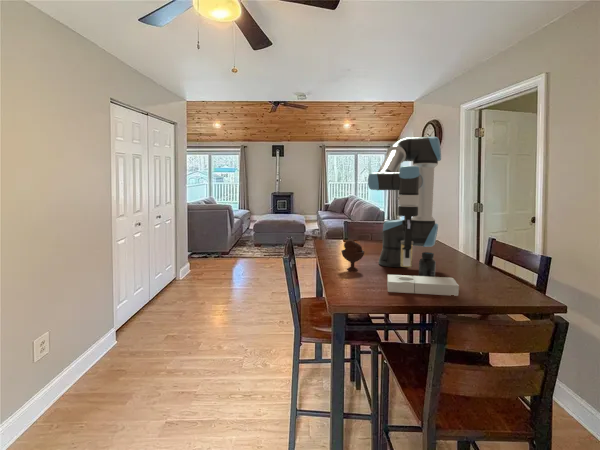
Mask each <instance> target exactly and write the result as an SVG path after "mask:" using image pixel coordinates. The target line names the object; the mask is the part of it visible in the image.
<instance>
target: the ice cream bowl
mask: <svg viewBox="0 0 600 450" xmlns="http://www.w3.org/2000/svg"><path fill="white" fill-rule="evenodd" d="M343 248H344V249H341V250H340V251H341V255H342V257H343V258H344V259H345V260H346V261H348V262H349V263H350V266H349V267H348V268H347V269H346V271H347V270H349V271H348V272H352V271H355V272H358V271H359V269H358V268H357V267H356V266H355V263H356V262H358V261H360V260H362V258H363V257H364V256H365V251H364V250H363V248H362V246H361V244H360V243H358V242H356V241H355V240H354V239H347V240H345V242H344V243H343Z"/></svg>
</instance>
